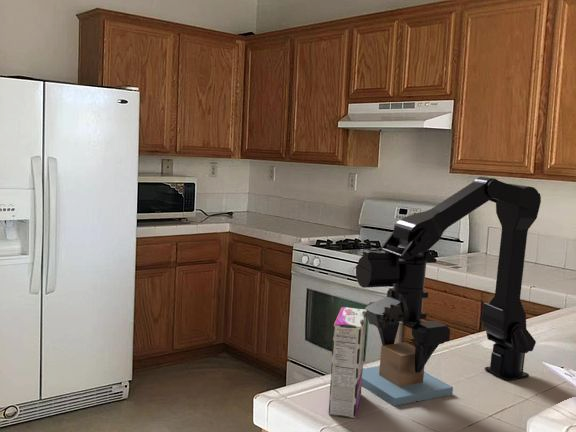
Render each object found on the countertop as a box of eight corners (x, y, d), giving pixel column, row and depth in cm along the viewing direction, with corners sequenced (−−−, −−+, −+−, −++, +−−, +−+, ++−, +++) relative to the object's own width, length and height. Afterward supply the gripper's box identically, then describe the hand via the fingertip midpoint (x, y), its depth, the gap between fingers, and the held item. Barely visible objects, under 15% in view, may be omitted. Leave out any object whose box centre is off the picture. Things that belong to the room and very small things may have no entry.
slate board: (405, 368, 133) (405, 361, 133) (452, 394, 121) (453, 387, 121) (349, 377, 126) (350, 370, 126) (394, 406, 114) (394, 398, 114)
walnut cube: (403, 371, 127) (405, 342, 127) (422, 382, 122) (425, 352, 121) (379, 375, 125) (381, 345, 124) (398, 386, 119) (401, 356, 119)
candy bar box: (334, 390, 120) (341, 305, 118) (361, 394, 119) (368, 308, 117) (326, 415, 109) (332, 322, 107) (355, 419, 108) (362, 326, 106)
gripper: (346, 276, 125) (340, 352, 127) (407, 301, 109) (399, 388, 111) (391, 273, 131) (385, 346, 133) (455, 296, 114) (447, 379, 116)
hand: (402, 363), depth 123 cm, fingers open, 9 cm apart
